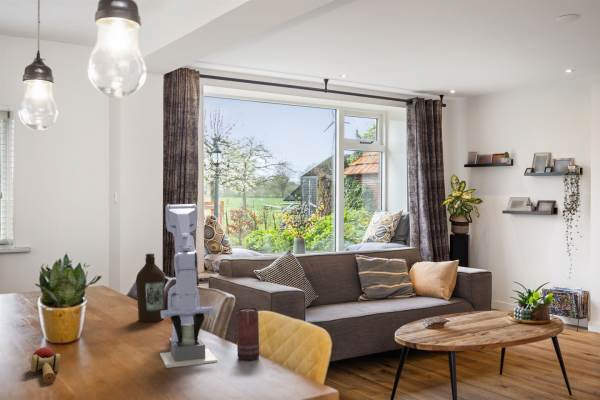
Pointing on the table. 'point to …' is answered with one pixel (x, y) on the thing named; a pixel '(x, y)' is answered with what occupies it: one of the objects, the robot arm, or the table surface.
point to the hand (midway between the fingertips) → (187, 341)
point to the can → (247, 334)
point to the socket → (187, 355)
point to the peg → (188, 334)
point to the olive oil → (150, 291)
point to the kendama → (46, 363)
